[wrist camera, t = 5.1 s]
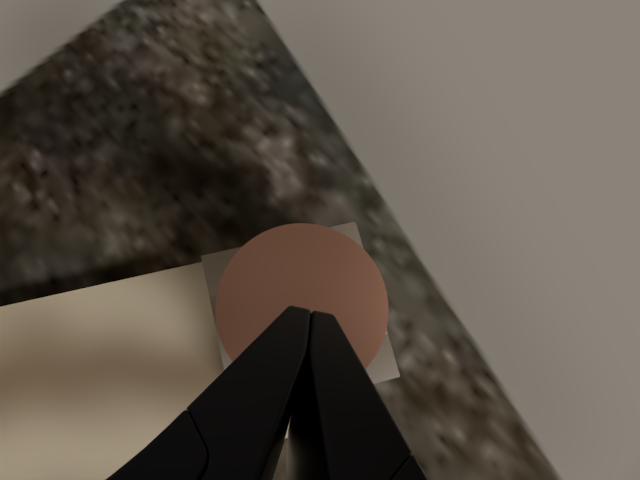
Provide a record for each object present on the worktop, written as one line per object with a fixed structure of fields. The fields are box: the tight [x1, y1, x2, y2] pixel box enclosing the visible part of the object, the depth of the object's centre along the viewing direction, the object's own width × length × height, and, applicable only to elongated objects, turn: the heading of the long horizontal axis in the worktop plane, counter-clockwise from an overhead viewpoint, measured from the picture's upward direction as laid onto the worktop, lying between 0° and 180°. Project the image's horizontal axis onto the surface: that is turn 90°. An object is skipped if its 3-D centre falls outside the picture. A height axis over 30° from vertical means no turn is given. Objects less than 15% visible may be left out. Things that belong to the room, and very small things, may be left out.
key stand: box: [0, 222, 400, 480], centre depth 17 cm, size 8×22×8 cm, turn 104°
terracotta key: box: [215, 223, 389, 369], centre depth 15 cm, size 5×5×3 cm
